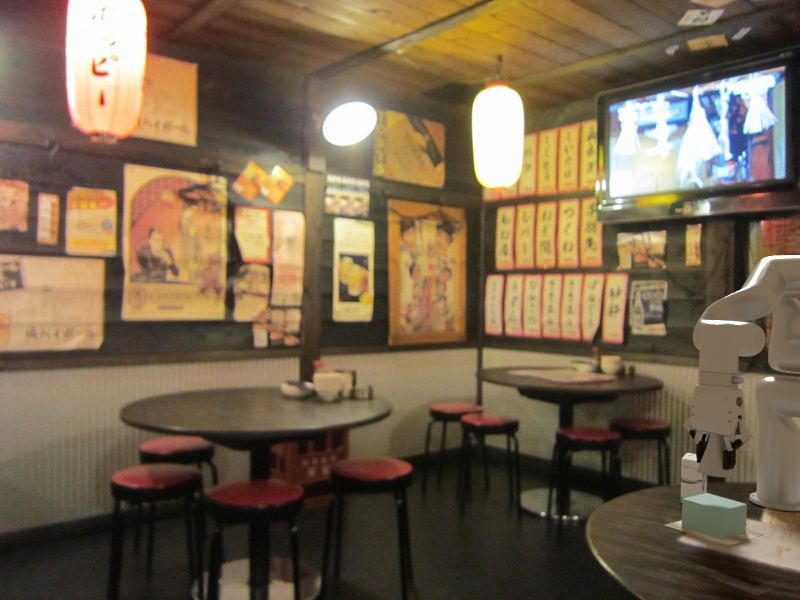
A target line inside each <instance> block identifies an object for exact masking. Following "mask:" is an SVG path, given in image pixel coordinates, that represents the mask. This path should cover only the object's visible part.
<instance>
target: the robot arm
mask: <svg viewBox="0 0 800 600" xmlns="http://www.w3.org/2000/svg"><path fill="white" fill-rule="evenodd" d="M799 299H800V255H799V254H798V255H795V254H794V255H792V254H791V255H771V256H767V257H766V256H765V257H763V258H762V259H760V260H759V261H758V262H757V263H756V264H755V266H754V268H753V269H752V271H751V272H750V274H749V275H748V276H747V278H746V281H744V284H743V285H742V287H741V289H740V290H736V291H735V292H733V293H730V294H729V295H727V296H724V297H722V298H720V299H718V300H716V301H715V302H713V303H711V304H710V305H709V306H708V307H707V308H706V309H705V310H704V311H703V313H702V315H700V317H699V319H698V320H697V322H696V324H695V327H694V330H693V332H692V341H693V345H694V346H695V349H697V350H698V351H699V355H698V357H699V358H698V359H699V360H698V362H699V364H698V383H697V384H695V387H694V391H693V395H692V400H691V401H692V402H691V410H690V416H689V417H688V418H687V419H686V420H685V421H684V422H683V423H682V425H683V428H684V429H685V430H686V431H687V432H688V433H689V435H690V437H691V439H692V440H693V443H694V444H695V454H696V457H697V463H700V462H701V460H702V457H703V455H704V452H705V450H706V447H707V445H708V442H707V439H708V438H709V433H711V434H717V435H722V436H723V442H724V446H725V450H724V451H723V468H724V469H725V470H729V469H732V470H733V469H734V468H735V466H736V460H737V450H739V449H740V448H741V447H742V446H743V445H745V444H746V443H747V442H749V441H750V440H752V439H753V435H752V433H751V432H750V430H749V429H748V427H747V424H746V423H747V421H746V405H745V399H744V398H745V397H744V393H743V390H742V388H740V387H739V385H743V384H744V381H745V380H744V377H740V376H739V375H740V374H739V357H753V356H756V355H758V354H760V353H761V352H762V350H763V349H764V348H765V346H766V334H765V332H764V330H763V328H762V327H761V326H760V325H758V324H756V323H753V322H751V321H753V320H754V321H755V320H757V319H761V318H763V317H767V316H770V315H771V314H772V317H773V318H772V326H771V332H770V337H769V338H770V341H769V345H768V346H769V347H768V353H767V354H768V356H767V358H768V359H767V361H768V365H769V366H770V368H771V369H772V370H775V371H777V372H781V373H787V374H798V375H800V300H799ZM738 387H739V388H738ZM754 394H755V401H756V403H755V404H756V409H757V419H758V434H757V436H758V437H757V440H758V441H757V463H756V464H757V465H756V467H757V468H756V473H757V475H756V491H755V492H752V493H749V497H748V498H749V500H750V502H751V503H753V504H755V505H758V506H760V507H764V508H768V509H770V510H771V509H772V510H777V511H783V512H785V511H786V512H800V427H799V425H798V424H797V422H796V421H795V420H794V419H793V418H796V419H800V378H798V377H791V376H790V377H788V376H775V375H774V376H766V377H763V378H762V379H760V380H759V381H758V382H757V384H756V387H755V393H754ZM737 436H740V437H739V438H737Z"/></svg>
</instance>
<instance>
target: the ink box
mask: <svg viewBox="0 0 800 600" xmlns="http://www.w3.org/2000/svg"><path fill="white" fill-rule="evenodd" d="M680 462H681V463H680V503H682V499H683V498H687V497H692V496H696V495H700V494H704V493H708V492H707V491H708V490H707V486H708V475H703V474H701V473H699V472H697V469H698V467H699V464H700V463H697V457H696V453H692V452H687V453H685V454H684V455H683V457H681V461H680Z"/></svg>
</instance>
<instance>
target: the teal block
mask: <svg viewBox="0 0 800 600" xmlns="http://www.w3.org/2000/svg"><path fill="white" fill-rule="evenodd" d="M747 507H748V504H747V503H744V502H740V501H737V500H733V499H729V498H726V497H724V496H723V497H722V496H720V495H719V496H718V495H717V494H716V495H715V494H712V493H708V492H707V493H704V494H700V495H696V496H692V497H687V498H683V499H682V505H681V520H682V527H684V528H687V529H690V530H693V531H696V532H699V533H702V534H705V535H708V536H711V537H714V538H717V539H720V540H724V539H727V538H730V537H733V536H737V535H740V534H743V533H746V529H747V516H748V515H747V512H748V511H747V510H748V508H747Z"/></svg>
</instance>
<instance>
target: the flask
mask: <svg viewBox="0 0 800 600" xmlns="http://www.w3.org/2000/svg"><path fill="white" fill-rule="evenodd" d="M707 443H708V445H707V447H706V450H705V452H704V455H703V457H702V460H701V462H700V464H699V467H698V469H697V472H699V473H701V474H703V475H707V477H708V476H709V477H715V478H733V476H734V473H733V469H729V470H725V469H724V468H723V451H724V450H726V446H725V442H724V438H723V436H722V435H717V434H711V433H709V434H708V441H707Z"/></svg>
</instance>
